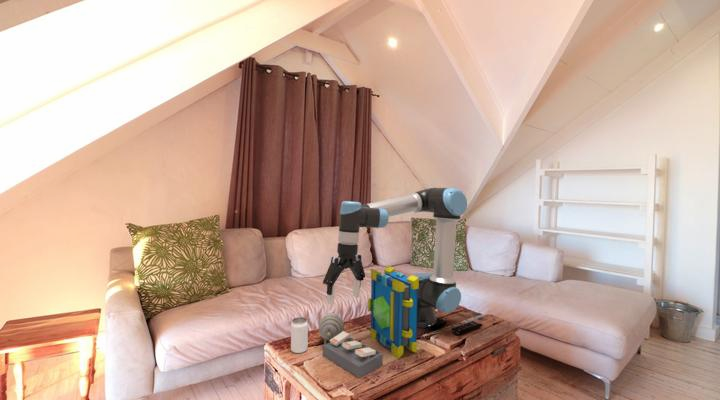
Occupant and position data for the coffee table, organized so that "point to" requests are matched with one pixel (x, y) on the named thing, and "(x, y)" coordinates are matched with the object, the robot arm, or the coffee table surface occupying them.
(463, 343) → the coffee table surface
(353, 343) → the rocker
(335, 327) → the grey ribbed rounded piece
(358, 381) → the coffee table surface
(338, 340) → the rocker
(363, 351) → the small box
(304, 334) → the can
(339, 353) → the rocker switch panel
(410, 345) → the decorative book
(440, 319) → the coffee table surface
